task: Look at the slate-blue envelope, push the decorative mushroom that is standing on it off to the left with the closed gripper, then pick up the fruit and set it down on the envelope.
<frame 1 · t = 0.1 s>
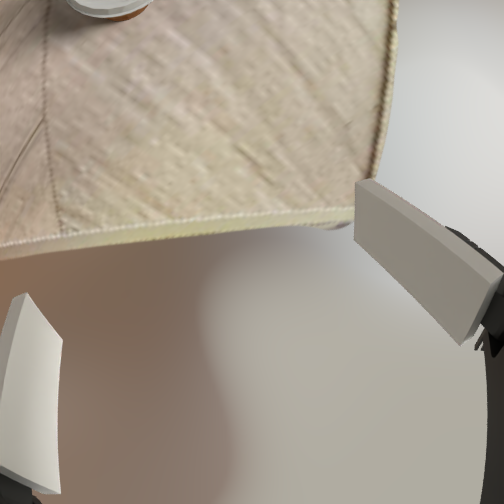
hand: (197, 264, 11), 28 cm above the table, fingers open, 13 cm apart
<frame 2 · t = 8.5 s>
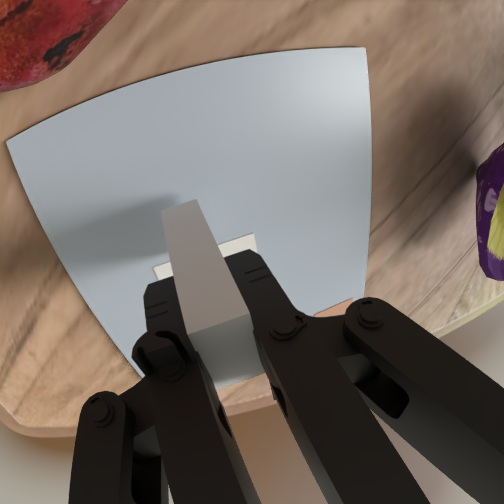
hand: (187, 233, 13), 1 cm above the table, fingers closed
letter: (237, 260, 16), on the table
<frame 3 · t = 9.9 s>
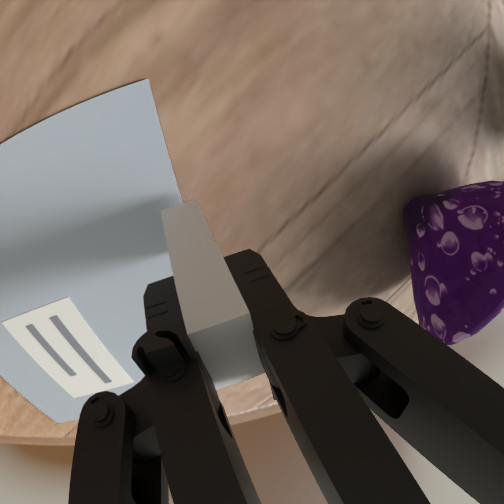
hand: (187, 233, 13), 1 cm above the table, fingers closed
letter: (67, 318, 14), on the table
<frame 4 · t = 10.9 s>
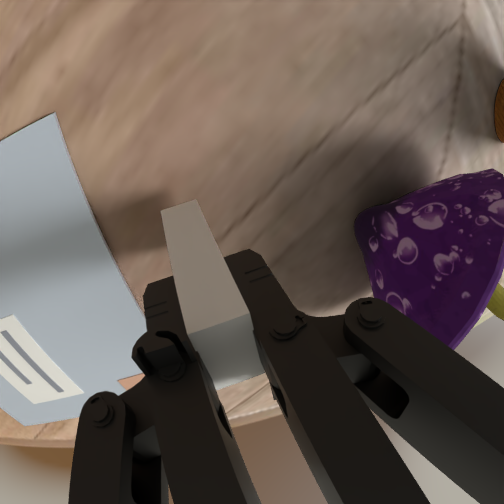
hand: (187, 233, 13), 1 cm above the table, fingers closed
letter: (17, 332, 13), on the table
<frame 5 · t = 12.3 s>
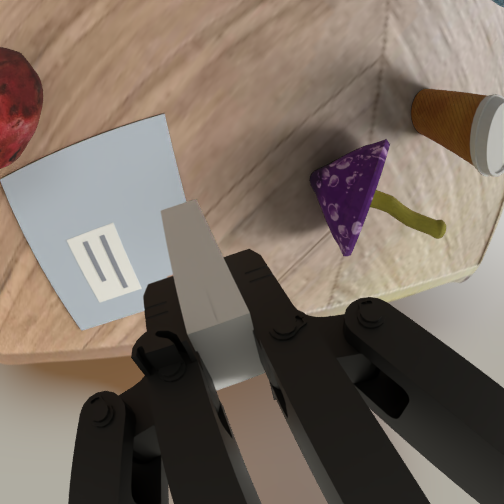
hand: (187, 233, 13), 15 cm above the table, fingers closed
fruit: (8, 103, 17), on the table
decorative mushroom: (446, 233, 26), point 11 cm above the table
disposable coffee cup: (425, 111, 32), on the table
letter: (109, 238, 27), on the table
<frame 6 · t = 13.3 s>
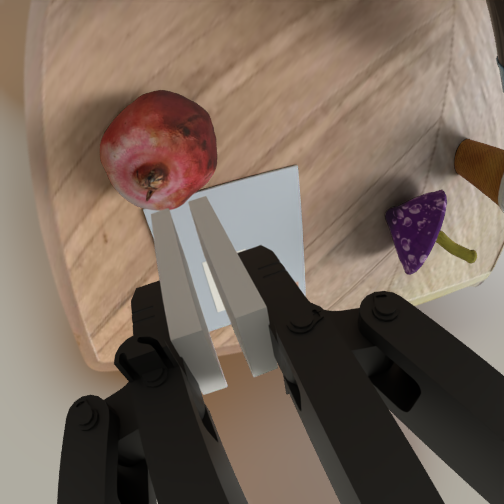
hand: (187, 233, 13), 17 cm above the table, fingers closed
fruit: (156, 140, 25), on the table
decorative mushroom: (476, 259, 34), point 11 cm above the table
disposable coffee cup: (463, 156, 39), on the table
letter: (238, 260, 35), on the table
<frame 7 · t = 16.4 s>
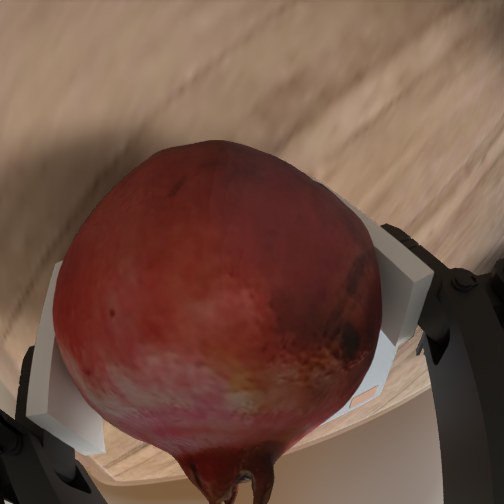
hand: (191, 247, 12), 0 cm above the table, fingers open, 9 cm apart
fruit: (190, 239, 12), on the table
letter: (313, 385, 22), on the table
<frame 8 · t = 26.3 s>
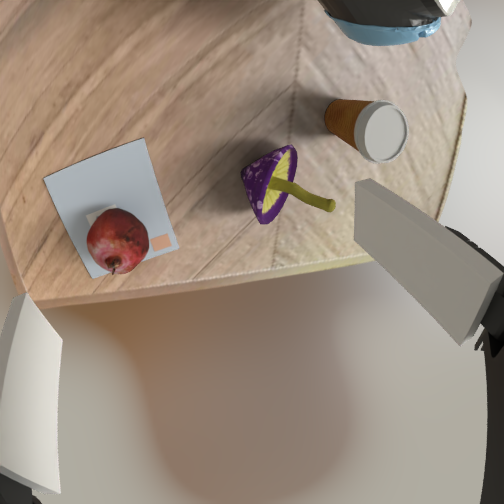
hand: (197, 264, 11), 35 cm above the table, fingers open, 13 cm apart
fruit: (117, 228, 44), resting on letter
decorative mushroom: (336, 208, 42), point 11 cm above the table
disposable coffee cup: (339, 116, 47), on the table
letter: (112, 214, 43), on the table
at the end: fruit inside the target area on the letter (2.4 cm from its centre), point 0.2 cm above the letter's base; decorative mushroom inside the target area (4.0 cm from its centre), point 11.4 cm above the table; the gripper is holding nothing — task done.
